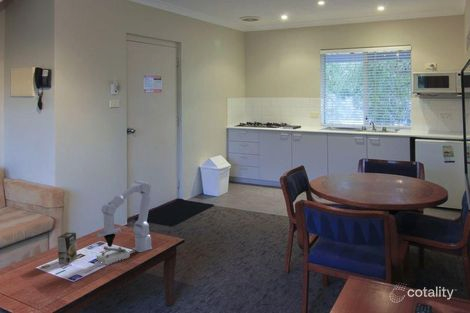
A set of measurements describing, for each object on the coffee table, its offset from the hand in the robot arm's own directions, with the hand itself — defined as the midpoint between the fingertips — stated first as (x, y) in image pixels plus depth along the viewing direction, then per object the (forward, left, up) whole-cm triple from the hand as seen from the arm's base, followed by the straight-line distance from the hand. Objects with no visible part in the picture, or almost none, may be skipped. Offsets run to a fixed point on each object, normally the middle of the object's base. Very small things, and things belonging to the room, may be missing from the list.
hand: (109, 246), depth 233 cm
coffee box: (+18, -16, -8) cm, 26 cm away
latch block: (-2, 0, -8) cm, 9 cm away
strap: (-2, 0, -3) cm, 4 cm away
